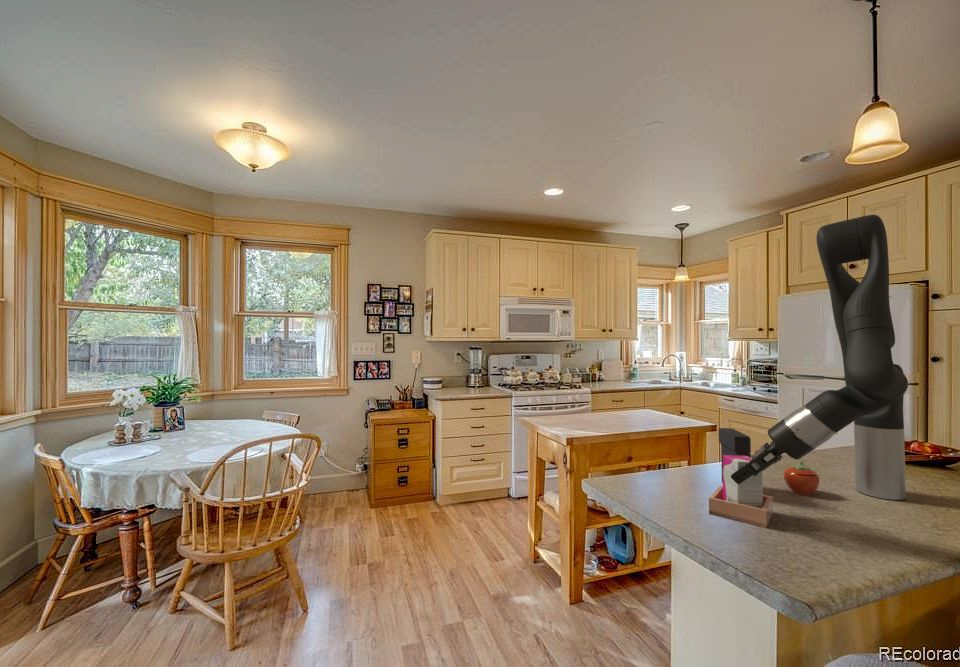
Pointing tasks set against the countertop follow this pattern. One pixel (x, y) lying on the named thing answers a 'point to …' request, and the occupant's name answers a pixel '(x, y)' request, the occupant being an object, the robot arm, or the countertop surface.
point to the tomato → (801, 479)
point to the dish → (741, 509)
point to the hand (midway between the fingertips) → (738, 475)
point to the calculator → (733, 443)
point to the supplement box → (745, 491)
